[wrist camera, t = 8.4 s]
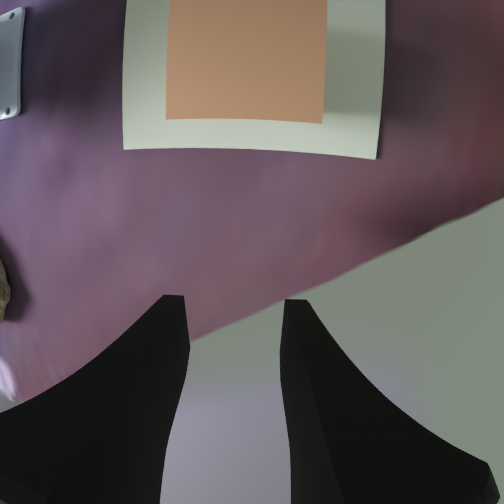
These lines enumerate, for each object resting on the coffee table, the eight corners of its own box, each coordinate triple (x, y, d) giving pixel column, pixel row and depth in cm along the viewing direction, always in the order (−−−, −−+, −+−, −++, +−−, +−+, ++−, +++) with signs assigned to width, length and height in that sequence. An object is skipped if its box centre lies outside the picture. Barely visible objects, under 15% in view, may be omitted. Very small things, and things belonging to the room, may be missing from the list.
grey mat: (127, 147, 17) (123, 149, 17) (135, -39, 12) (132, -42, 11) (372, 157, 17) (375, 159, 17) (380, -31, 12) (384, -34, 11)
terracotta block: (207, 109, 16) (165, 119, 8) (210, 30, 14) (171, -19, 6) (293, 112, 16) (321, 123, 8) (296, 33, 14) (327, -17, 6)
